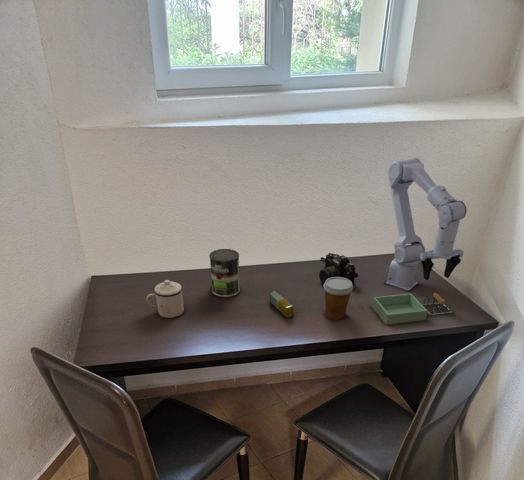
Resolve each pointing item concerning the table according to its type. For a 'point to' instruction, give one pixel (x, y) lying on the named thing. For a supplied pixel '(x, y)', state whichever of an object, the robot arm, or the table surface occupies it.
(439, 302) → the dish rack
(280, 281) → the table surface
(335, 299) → the disposable coffee cup
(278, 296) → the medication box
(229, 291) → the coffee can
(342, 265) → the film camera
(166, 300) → the teacup with lid
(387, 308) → the green open tray
